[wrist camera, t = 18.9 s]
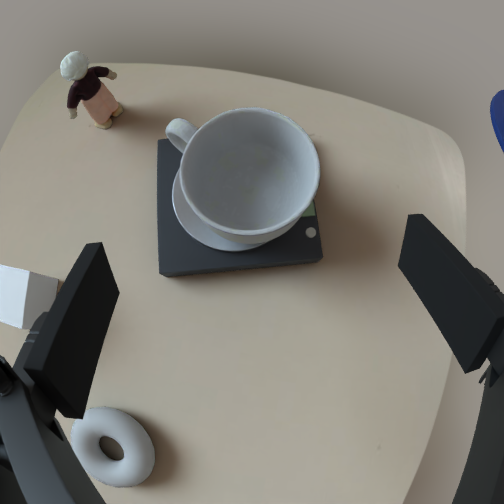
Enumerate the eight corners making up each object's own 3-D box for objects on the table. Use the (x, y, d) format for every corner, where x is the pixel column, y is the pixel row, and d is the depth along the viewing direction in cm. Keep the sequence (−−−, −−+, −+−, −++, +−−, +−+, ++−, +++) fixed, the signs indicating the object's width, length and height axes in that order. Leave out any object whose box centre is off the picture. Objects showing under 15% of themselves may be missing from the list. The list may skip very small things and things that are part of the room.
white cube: (52, 329, 32) (21, 329, 26) (17, 318, 32) (-14, 316, 26) (58, 278, 33) (29, 271, 27) (23, 271, 33) (-7, 262, 27)
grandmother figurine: (111, 94, 38) (79, 32, 26) (132, 99, 38) (102, 34, 26) (81, 138, 37) (35, 82, 24) (101, 146, 36) (57, 86, 24)
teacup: (325, 202, 32) (348, 166, 24) (248, 279, 30) (248, 264, 22) (229, 117, 34) (225, 69, 26) (152, 181, 32) (127, 143, 24)
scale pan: (286, 136, 34) (287, 132, 33) (303, 246, 32) (305, 244, 31) (173, 147, 34) (171, 143, 33) (176, 258, 31) (174, 257, 30)
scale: (297, 137, 37) (300, 125, 34) (317, 262, 34) (323, 257, 31) (162, 150, 36) (157, 138, 34) (165, 277, 33) (158, 273, 31)
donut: (121, 491, 28) (177, 454, 29) (111, 504, 25) (169, 467, 26) (65, 429, 29) (114, 386, 31) (50, 437, 26) (101, 392, 27)
